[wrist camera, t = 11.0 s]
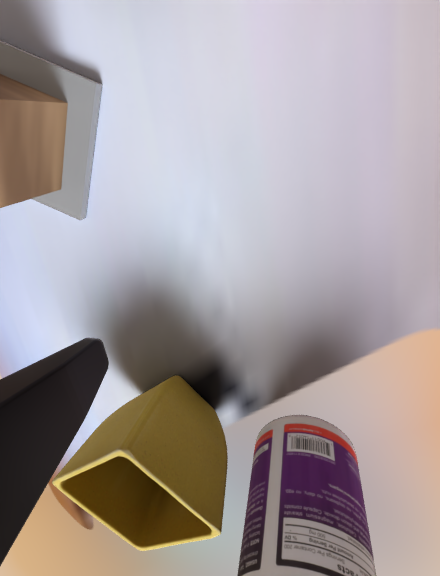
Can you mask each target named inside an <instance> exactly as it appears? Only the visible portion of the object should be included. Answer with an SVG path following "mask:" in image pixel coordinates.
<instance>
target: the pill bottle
mask: <svg viewBox="0 0 440 576" xmlns="http://www.w3.org/2000/svg"><path fill="white" fill-rule="evenodd" d="M238 576H376V571H375V566H374V559H373V554H372V547H371V541H370V535H369V529H368V523H367V518H366V511H365V505H364V499H363V493H362V487H361V481H360V475H359V469H358V462H357V457H356V452H355V449H354V447H353V444H352V443H351V441H350V440H349V438H348V437H347V436H346V435H345V434H344V433H343V432H342V431H341V430H339V429H338V428H337V427H335V426H334V425H332V424H330V423H328V422H326V421H324V420H322V419H319V418H315V417H311V416H307V415H306V416H305V415H292V416H285V417H281V418H278V419H276V420H273V421H272V422H270V423H268V424H267V425H266V426H265V427H264V428H263V429H262V430H261V431H260V433H259V435H258V437H257V440H256V444H255V450H254V458H253V466H252V473H251V480H250V488H249V495H248V502H247V510H246V518H245V525H244V533H243V539H242V547H241V555H240V561H239V569H238Z"/></svg>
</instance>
